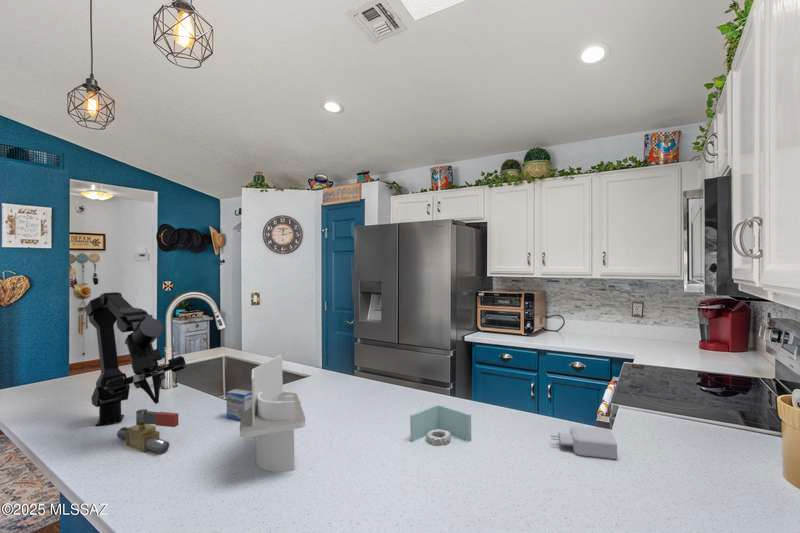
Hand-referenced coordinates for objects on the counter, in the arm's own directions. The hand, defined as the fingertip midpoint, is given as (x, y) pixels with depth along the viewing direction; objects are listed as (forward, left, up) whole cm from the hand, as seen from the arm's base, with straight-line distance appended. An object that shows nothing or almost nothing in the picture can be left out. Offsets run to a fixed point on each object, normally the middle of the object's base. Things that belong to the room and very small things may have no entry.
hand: (156, 403), depth 109 cm
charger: (+54, +101, -12) cm, 116 cm away
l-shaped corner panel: (+33, +71, -12) cm, 79 cm away
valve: (-3, -4, -12) cm, 13 cm away
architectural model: (+20, +29, -12) cm, 37 cm away
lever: (0, 0, -6) cm, 6 cm away
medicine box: (-12, +22, -12) cm, 28 cm away
